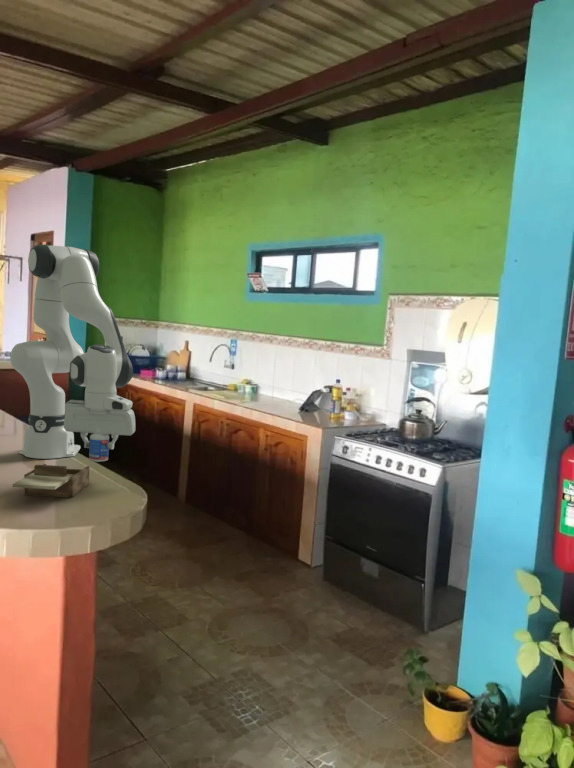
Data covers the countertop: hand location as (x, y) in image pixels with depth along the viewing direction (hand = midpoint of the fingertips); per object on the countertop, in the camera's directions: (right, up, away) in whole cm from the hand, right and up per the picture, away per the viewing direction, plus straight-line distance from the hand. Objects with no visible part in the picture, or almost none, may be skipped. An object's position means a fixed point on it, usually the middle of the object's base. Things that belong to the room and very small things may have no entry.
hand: (99, 448), depth 185 cm
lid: (-9, -7, -20) cm, 22 cm away
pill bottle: (0, -4, 0) cm, 4 cm away
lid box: (-9, -11, -10) cm, 17 cm away
